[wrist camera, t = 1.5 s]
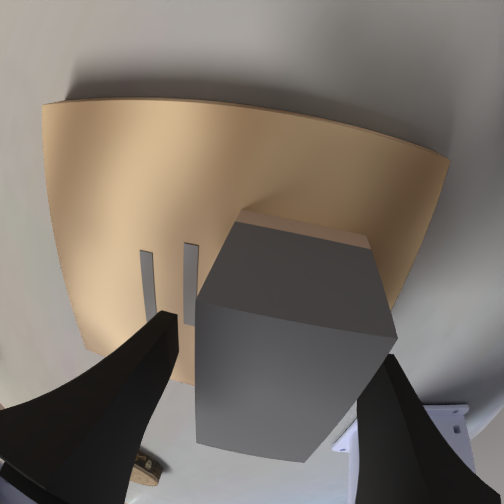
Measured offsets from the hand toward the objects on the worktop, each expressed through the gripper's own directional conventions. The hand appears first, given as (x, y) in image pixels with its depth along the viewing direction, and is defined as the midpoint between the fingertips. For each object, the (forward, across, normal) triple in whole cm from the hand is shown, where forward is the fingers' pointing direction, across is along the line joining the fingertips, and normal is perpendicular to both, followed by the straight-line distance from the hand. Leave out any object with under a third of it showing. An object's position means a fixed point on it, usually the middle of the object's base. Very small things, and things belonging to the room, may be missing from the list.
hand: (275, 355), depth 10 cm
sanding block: (+3, 0, 0) cm, 3 cm away
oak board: (+4, +3, 0) cm, 5 cm away
